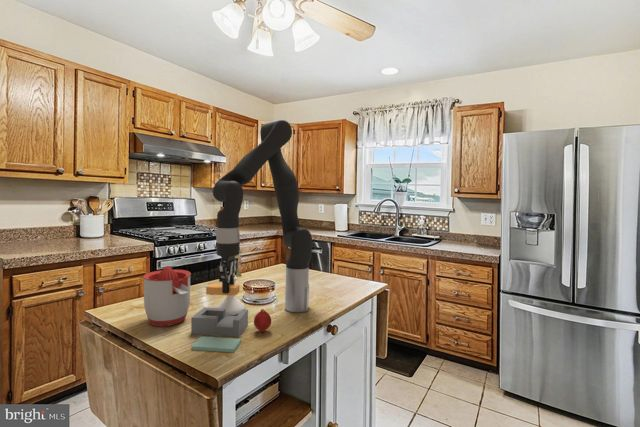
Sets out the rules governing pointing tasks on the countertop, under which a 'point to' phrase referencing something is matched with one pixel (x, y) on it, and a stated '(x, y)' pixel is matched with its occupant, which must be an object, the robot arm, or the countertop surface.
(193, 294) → the countertop surface
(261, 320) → the onion
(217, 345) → the mat
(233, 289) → the plank
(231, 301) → the flower in vase
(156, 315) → the citrus juicer
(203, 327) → the kitting block
